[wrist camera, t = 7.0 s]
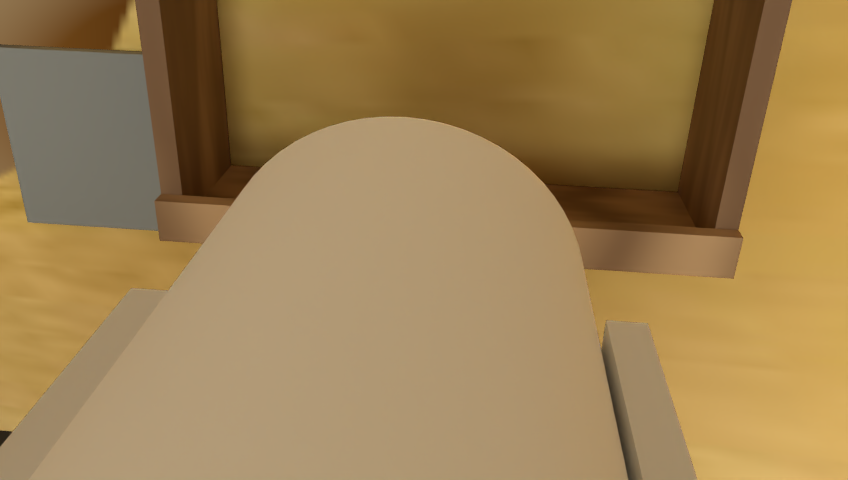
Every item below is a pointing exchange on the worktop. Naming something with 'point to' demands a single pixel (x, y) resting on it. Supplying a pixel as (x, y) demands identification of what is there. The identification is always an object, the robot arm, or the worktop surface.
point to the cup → (365, 329)
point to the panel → (81, 135)
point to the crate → (584, 206)
